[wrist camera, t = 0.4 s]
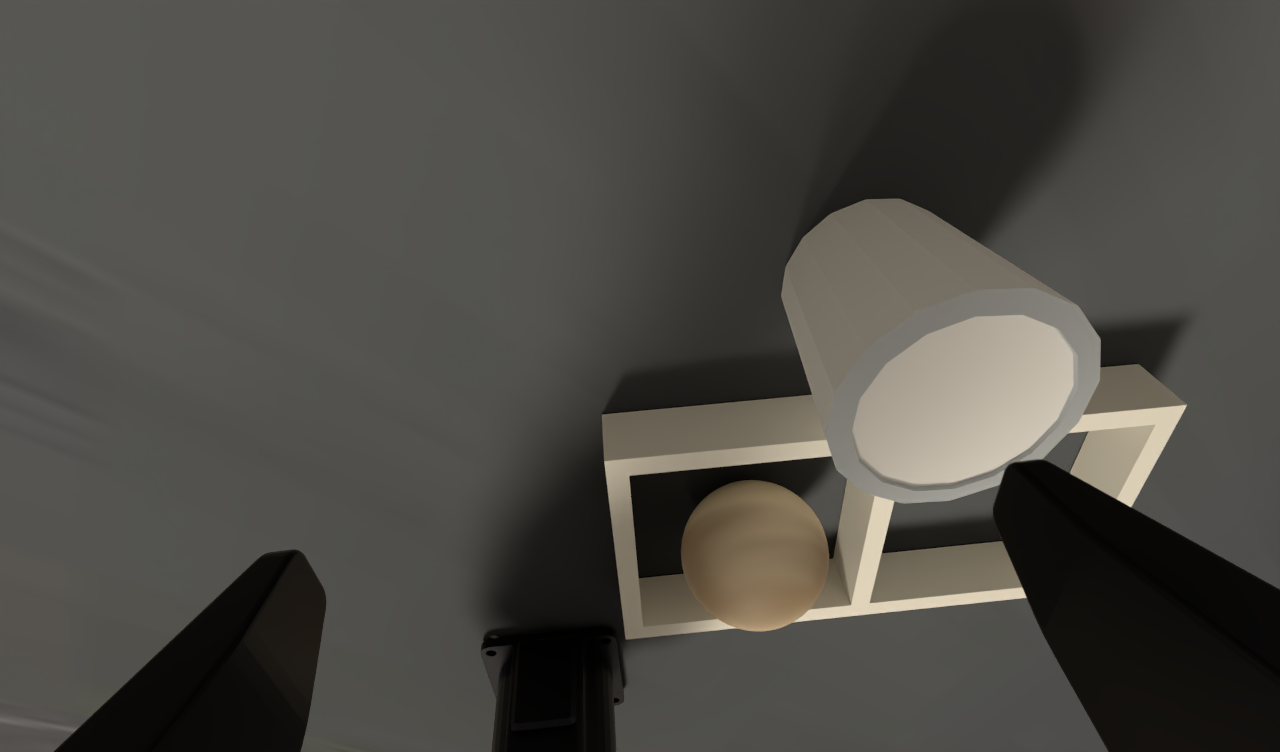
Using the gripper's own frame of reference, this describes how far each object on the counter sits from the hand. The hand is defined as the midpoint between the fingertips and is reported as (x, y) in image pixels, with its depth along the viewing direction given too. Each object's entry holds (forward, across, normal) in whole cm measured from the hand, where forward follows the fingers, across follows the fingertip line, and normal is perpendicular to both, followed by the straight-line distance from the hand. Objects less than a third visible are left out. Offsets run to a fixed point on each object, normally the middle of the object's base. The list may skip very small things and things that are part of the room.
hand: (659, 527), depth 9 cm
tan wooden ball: (+14, -4, +14) cm, 20 cm away
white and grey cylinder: (+14, -8, +4) cm, 16 cm away
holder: (+14, -9, +14) cm, 22 cm away
